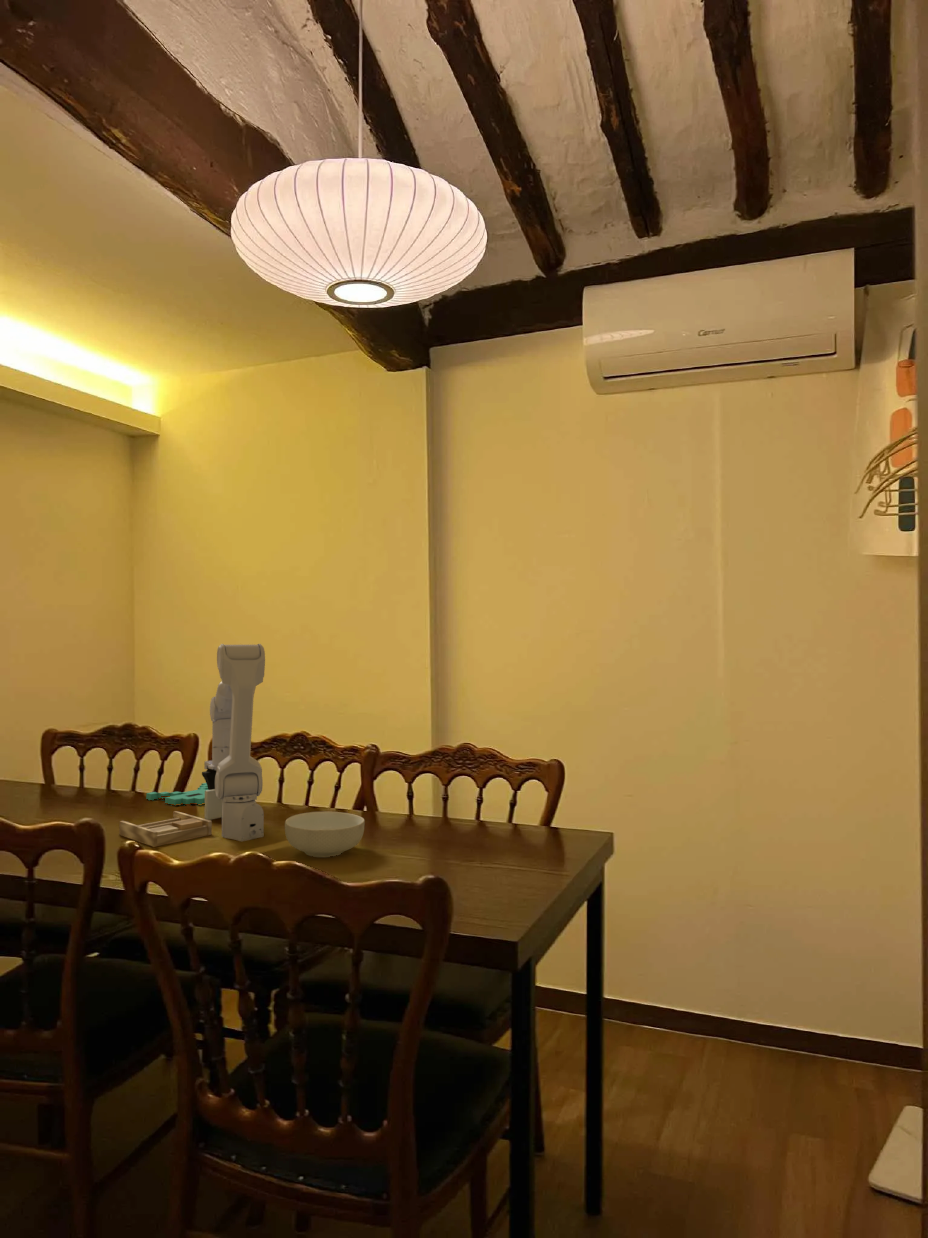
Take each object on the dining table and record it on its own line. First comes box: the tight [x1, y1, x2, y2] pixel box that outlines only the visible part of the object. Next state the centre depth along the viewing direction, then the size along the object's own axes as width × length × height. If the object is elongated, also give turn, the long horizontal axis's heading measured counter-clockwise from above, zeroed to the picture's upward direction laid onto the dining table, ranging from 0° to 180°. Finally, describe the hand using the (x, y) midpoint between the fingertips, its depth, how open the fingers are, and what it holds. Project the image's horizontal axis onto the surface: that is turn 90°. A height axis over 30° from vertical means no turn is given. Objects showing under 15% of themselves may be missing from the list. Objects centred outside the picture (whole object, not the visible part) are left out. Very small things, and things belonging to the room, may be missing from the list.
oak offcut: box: [172, 818, 202, 831], centre depth 189 cm, size 4×5×3 cm
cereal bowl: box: [284, 811, 366, 858], centre depth 179 cm, size 17×17×7 cm
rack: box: [118, 810, 213, 848], centre depth 189 cm, size 15×14×4 cm
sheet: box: [204, 789, 222, 821], centre depth 208 cm, size 1×10×8 cm, turn 139°
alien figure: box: [145, 782, 208, 805], centre depth 233 cm, size 20×2×20 cm
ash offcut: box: [150, 825, 178, 835], centre depth 185 cm, size 4×5×2 cm
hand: (223, 801), depth 208 cm, fingers open, 7 cm apart
